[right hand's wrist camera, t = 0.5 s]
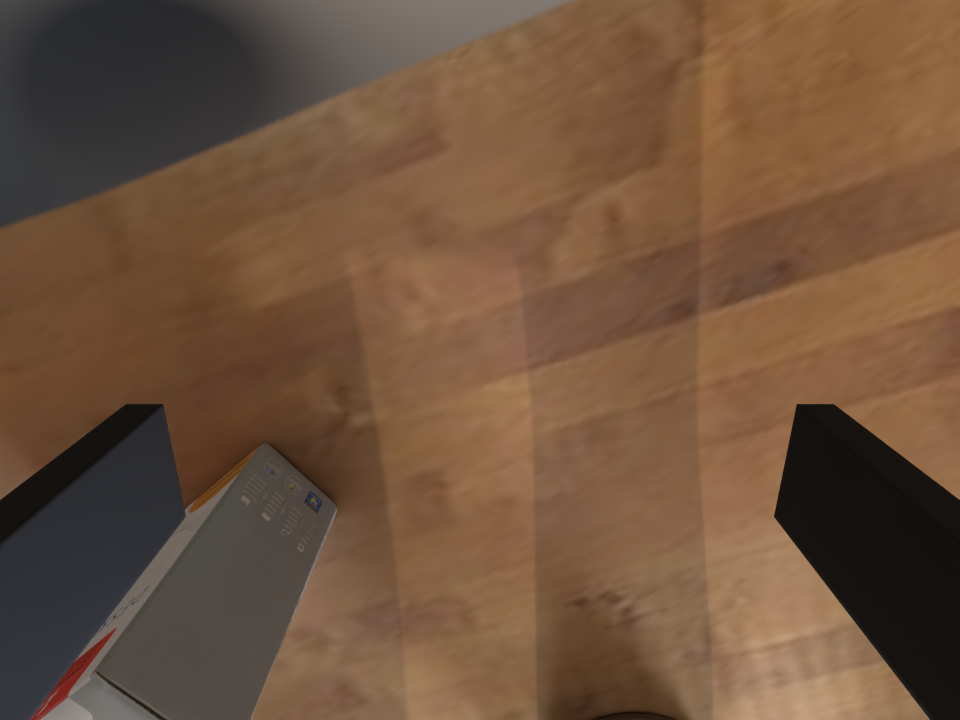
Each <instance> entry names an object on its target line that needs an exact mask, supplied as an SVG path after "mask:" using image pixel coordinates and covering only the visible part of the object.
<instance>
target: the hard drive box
mask: <svg viewBox="0 0 960 720" xmlns="http://www.w3.org/2000/svg"><path fill="white" fill-rule="evenodd" d="M336 513H337V509H336V504H335V503H333V502H332V501H331V500H330V499H329V498H328V497H327V496H326V495H325V494H323V493H322V492H321V491H320V490H319V489H318V488H317V487H316V486H315V485H313V484H312V483H311V482H310V481H309V480H308V479H307V478H306V477H304V476H303V475H302V474H301V473H300V472H299V471H298V470H297V469H295V468H294V467H293V466H292V465H291V464H290V463H289V462H288V461H287V460H286V459H284V458H283V457H282V456H281V455H280V454H279V453H278V452H277V451H275V450H274V449H273V448H272V447H271V446H270V445H268V444H267V443H263V444H261V445H260V446H259V447H257V448H256V449H255V450H254V451H253V452H251V453H250V454H249V455H248V456H247V457H246V458H244V459H243V460H242V461H241V462H240V463H239V464H237V465H236V466H235V467H234V468H233V469H231V470H230V471H229V472H228V473H227V474H226V475H224V476H223V477H222V478H221V479H220V480H219V481H217V482H216V483H215V484H214V485H213V486H212V487H210V488H209V489H208V490H207V491H206V492H204V493H203V494H202V495H201V496H200V497H199V498H198V499H196V500H195V501H194V502H193V503H191V504H190V505H189V506H188V507H187V508H186V509H185V515H186V517H185V519H184V520H183V521H182V523H181V524H180V525H179V526H178V528H177V529H176V530H175V532H174V533H173V534H172V536H171V537H170V538H169V539H168V541H167V542H166V543H165V545H164V546H163V547H162V549H161V550H160V551H159V552H158V554H157V555H156V556H155V558H154V559H153V560H152V562H151V563H150V564H149V565H148V567H147V568H146V569H145V571H144V572H143V573H142V575H141V576H140V577H139V578H138V580H137V581H136V582H135V584H134V585H133V586H132V588H131V589H130V590H129V591H128V593H127V594H126V595H125V597H124V598H123V599H122V601H121V602H120V603H119V604H118V606H117V607H116V608H115V610H114V611H113V612H112V614H111V615H110V616H109V617H108V619H107V620H106V621H105V623H104V624H103V625H102V627H101V628H100V629H99V630H98V632H97V633H96V634H95V636H94V637H93V638H92V640H91V641H90V642H89V643H88V645H87V646H86V647H85V649H84V650H83V651H82V652H81V654H80V655H79V656H78V658H77V659H76V660H75V662H74V663H73V664H72V665H71V667H70V668H69V669H68V671H67V672H66V673H65V675H64V676H63V677H62V678H61V680H60V681H59V682H58V684H57V685H56V686H55V688H54V689H53V690H52V691H51V693H50V694H49V695H48V697H47V698H46V699H45V701H44V702H43V703H42V704H41V706H40V707H39V708H38V710H37V711H36V712H35V714H34V715H33V716H32V717H31V719H30V720H251V718H252V716H253V713H254V711H255V708H256V706H257V704H258V701H259V699H260V696H261V694H262V691H263V689H264V686H265V684H266V682H267V679H268V677H269V674H270V672H271V669H272V667H273V665H274V662H275V660H276V657H277V655H278V653H279V650H280V648H281V645H282V643H283V640H284V638H285V636H286V633H287V631H288V629H289V626H290V624H291V621H292V619H293V617H294V614H295V612H296V609H297V607H298V605H299V602H300V600H301V597H302V595H303V593H304V590H305V588H306V585H307V583H308V581H309V578H310V576H311V573H312V571H313V569H314V566H315V564H316V561H317V559H318V557H319V554H320V552H321V549H322V547H323V545H324V542H325V540H326V537H327V535H328V533H329V530H330V528H331V525H332V523H333V520H334V518H335V515H336Z"/></svg>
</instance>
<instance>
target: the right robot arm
mask: <svg viewBox="0 0 960 720" xmlns="http://www.w3.org/2000/svg"><path fill="white" fill-rule="evenodd" d="M185 517H186V515H185V510H184V505H183V500H182V495H181V490H180V485H179V480H178V475H177V470H176V465H175V460H174V455H173V451H172V446H171V441H170V436H169V431H168V426H167V421H166V416H165V411H164V406H163V404H126V405H125V406H123V407H122V408H121V409H119V410H118V411H117V412H115V413H114V414H113V415H111V416H110V417H109V418H107V419H106V420H105V421H104V422H102V423H101V424H100V425H98V426H97V427H96V428H94V429H93V430H92V431H90V432H89V433H88V434H86V435H85V436H84V437H83V438H81V439H80V440H79V441H77V442H76V443H75V444H73V445H72V446H71V447H69V448H68V449H67V450H65V451H64V452H63V453H62V454H60V455H59V456H58V457H56V458H55V459H54V460H52V461H51V462H50V463H48V464H47V465H46V466H44V467H43V468H42V469H41V470H39V471H38V472H37V473H35V474H34V475H33V476H31V477H30V478H29V479H27V480H26V481H25V482H23V483H22V484H21V485H20V486H18V487H17V488H16V489H14V490H13V491H12V492H10V493H9V494H8V495H6V496H5V497H4V498H2V499H1V500H0V720H30V719H31V717H32V716H33V715H34V714H35V712H36V711H37V710H38V708H39V707H40V706H41V704H42V703H43V702H44V701H45V699H46V698H47V697H48V695H49V694H50V693H51V691H52V690H53V689H54V688H55V686H56V685H57V684H58V682H59V681H60V680H61V678H62V677H63V676H64V675H65V673H66V672H67V671H68V669H69V668H70V667H71V665H72V664H73V663H74V662H75V660H76V659H77V658H78V656H79V655H80V654H81V652H82V651H83V650H84V649H85V647H86V646H87V645H88V643H89V642H90V641H91V640H92V638H93V637H94V636H95V634H96V633H97V632H98V630H99V629H100V628H101V627H102V625H103V624H104V623H105V621H106V620H107V619H108V617H109V616H110V615H111V614H112V612H113V611H114V610H115V608H116V607H117V606H118V604H119V603H120V602H121V601H122V599H123V598H124V597H125V595H126V594H127V593H128V591H129V590H130V589H131V588H132V586H133V585H134V584H135V582H136V581H137V580H138V578H139V577H140V576H141V575H142V573H143V572H144V571H145V569H146V568H147V567H148V565H149V564H150V563H151V562H152V560H153V559H154V558H155V556H156V555H157V554H158V552H159V551H160V550H161V549H162V547H163V546H164V545H165V543H166V542H167V541H168V539H169V538H170V537H171V536H172V534H173V533H174V532H175V530H176V529H177V528H178V526H179V525H180V524H181V523H182V521H183V520H184V519H185ZM774 517H775V519H776V520H777V521H778V523H779V524H780V525H781V526H782V528H783V529H784V530H785V532H786V533H787V534H788V536H789V537H790V538H791V539H792V541H793V542H794V543H795V545H796V546H797V547H798V549H799V550H800V551H801V552H802V554H803V555H804V556H805V558H806V559H807V560H808V562H809V563H810V564H811V565H812V567H813V568H814V569H815V571H816V572H817V573H818V575H819V576H820V577H821V578H822V580H823V581H824V582H825V584H826V585H827V586H828V588H829V589H830V590H831V591H832V593H833V594H834V595H835V597H836V598H837V599H838V601H839V602H840V603H841V604H842V606H843V607H844V608H845V610H846V611H847V612H848V614H849V615H850V616H851V617H852V619H853V620H854V621H855V623H856V624H857V625H858V627H859V628H860V629H861V630H862V632H863V633H864V634H865V636H866V637H867V638H868V640H869V641H870V642H871V643H872V645H873V646H874V647H875V649H876V650H877V651H878V652H879V654H880V655H881V656H882V658H883V659H884V660H885V662H886V663H887V664H888V665H889V667H890V668H891V669H892V671H893V672H894V673H895V675H896V676H897V677H898V678H899V680H900V681H901V682H902V684H903V685H904V686H905V688H906V689H907V690H908V691H909V693H910V694H911V695H912V697H913V698H914V699H915V701H916V702H917V703H918V704H919V706H920V707H921V708H922V710H923V711H924V712H925V714H926V715H927V716H928V717H929V719H930V720H960V500H959V499H958V498H956V497H955V496H954V495H952V494H951V493H950V492H948V491H947V490H946V489H944V488H943V487H942V486H940V485H939V484H938V483H937V482H935V481H934V480H933V479H931V478H930V477H929V476H927V475H926V474H925V473H923V472H922V471H921V470H919V469H918V468H917V467H916V466H914V465H913V464H912V463H910V462H909V461H908V460H906V459H905V458H904V457H902V456H901V455H900V454H898V453H897V452H896V451H895V450H893V449H892V448H891V447H889V446H888V445H887V444H885V443H884V442H883V441H881V440H880V439H879V438H877V437H876V436H875V435H874V434H872V433H871V432H870V431H868V430H867V429H866V428H864V427H863V426H862V425H860V424H859V423H858V422H856V421H855V420H854V419H853V418H851V417H850V416H849V415H847V414H846V413H845V412H843V411H842V410H841V409H839V408H838V407H837V406H835V405H834V404H797V406H796V411H795V416H794V421H793V426H792V431H791V436H790V441H789V446H788V451H787V455H786V460H785V465H784V470H783V475H782V480H781V485H780V490H779V495H778V500H777V505H776V510H775V515H774ZM598 720H672V719H669V718H666V717H662V716H657V715H651V714H635V713H631V714H620V715H613V716H609V717H604V718H601V719H598Z"/></svg>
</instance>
